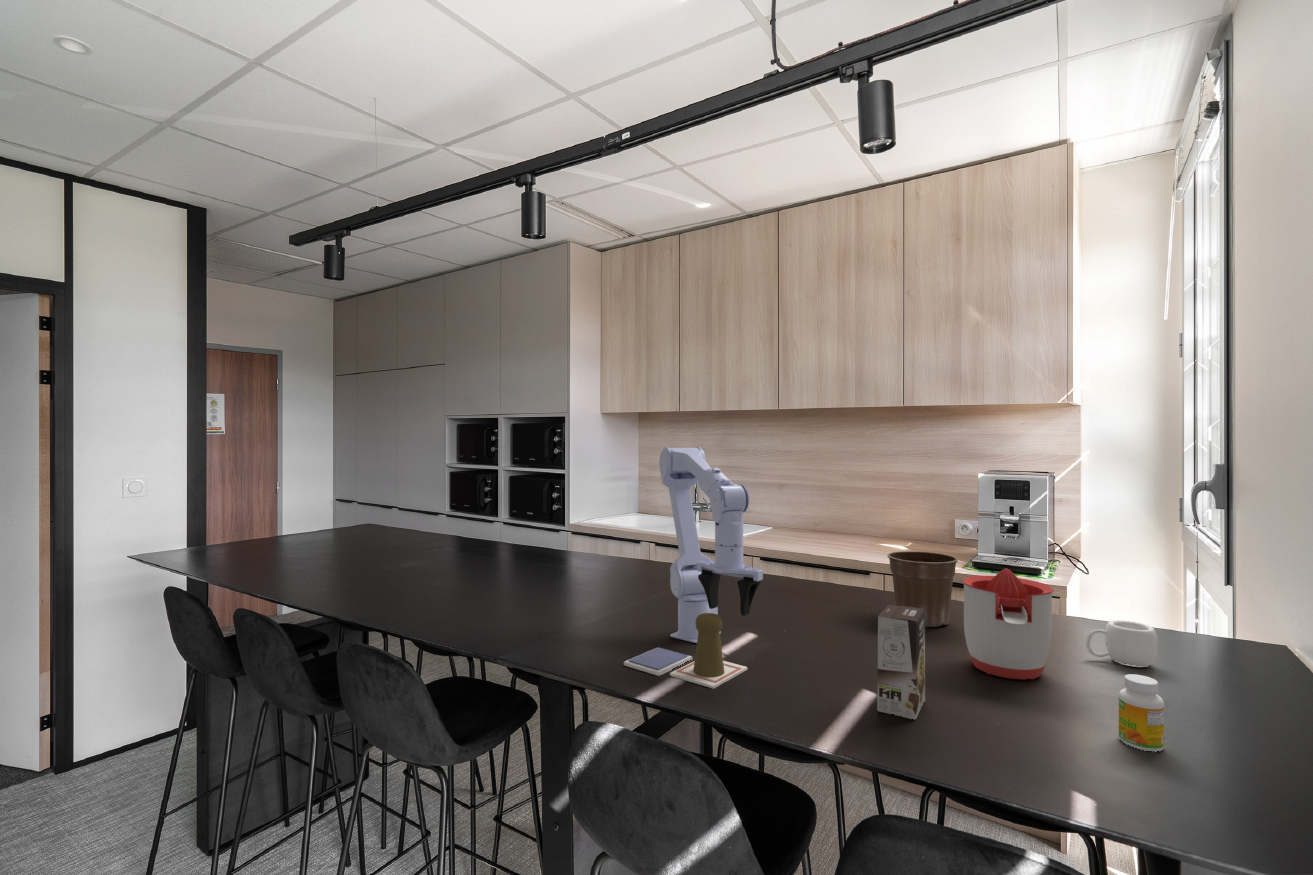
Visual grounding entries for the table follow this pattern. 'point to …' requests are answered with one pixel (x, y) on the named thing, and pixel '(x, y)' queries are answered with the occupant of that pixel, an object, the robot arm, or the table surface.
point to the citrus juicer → (1008, 624)
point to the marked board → (711, 682)
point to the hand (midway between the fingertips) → (728, 611)
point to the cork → (708, 646)
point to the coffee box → (901, 661)
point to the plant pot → (924, 583)
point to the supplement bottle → (1141, 714)
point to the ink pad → (657, 661)
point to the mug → (1128, 642)
